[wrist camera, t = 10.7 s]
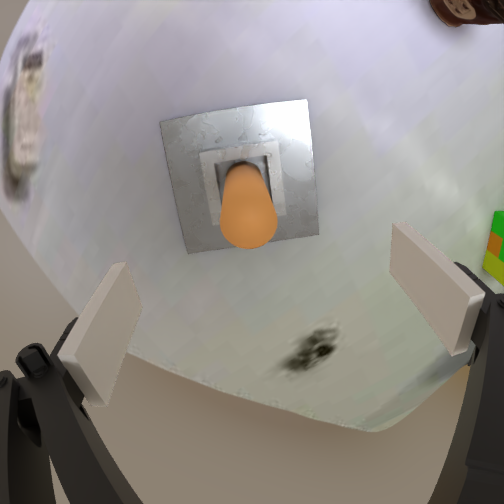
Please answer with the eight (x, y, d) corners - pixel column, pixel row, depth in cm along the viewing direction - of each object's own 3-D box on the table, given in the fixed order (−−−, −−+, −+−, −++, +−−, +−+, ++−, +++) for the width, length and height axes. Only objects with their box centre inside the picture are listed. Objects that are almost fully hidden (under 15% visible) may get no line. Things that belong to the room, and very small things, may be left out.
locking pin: (222, 164, 34) (215, 199, 21) (259, 158, 34) (274, 190, 21) (228, 198, 36) (225, 252, 23) (263, 193, 36) (280, 244, 23)
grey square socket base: (161, 121, 32) (154, 123, 29) (304, 99, 32) (312, 99, 29) (189, 250, 39) (185, 263, 36) (317, 231, 39) (324, 243, 36)
